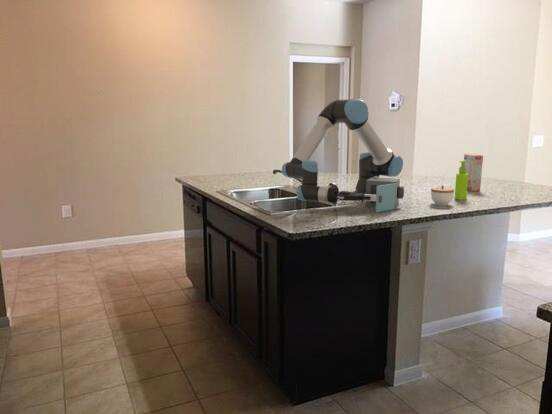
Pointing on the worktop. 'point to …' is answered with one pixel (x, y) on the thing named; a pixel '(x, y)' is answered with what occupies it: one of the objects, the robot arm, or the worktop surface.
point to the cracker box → (473, 171)
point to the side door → (386, 197)
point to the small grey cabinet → (376, 181)
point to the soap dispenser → (461, 182)
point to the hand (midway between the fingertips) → (378, 198)
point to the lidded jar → (442, 195)
